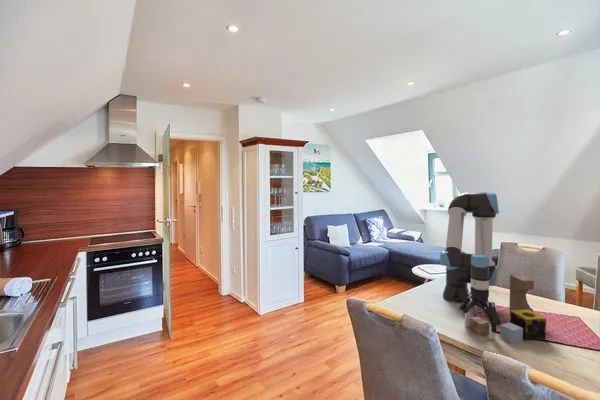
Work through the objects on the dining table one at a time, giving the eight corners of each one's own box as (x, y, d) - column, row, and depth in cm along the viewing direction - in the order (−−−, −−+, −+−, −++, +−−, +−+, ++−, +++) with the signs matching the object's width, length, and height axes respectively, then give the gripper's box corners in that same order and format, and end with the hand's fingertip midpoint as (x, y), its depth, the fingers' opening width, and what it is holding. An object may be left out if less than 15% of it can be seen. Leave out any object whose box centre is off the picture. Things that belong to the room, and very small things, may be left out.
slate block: (500, 337, 144) (500, 324, 143) (509, 335, 146) (509, 322, 145) (513, 343, 138) (513, 330, 138) (522, 341, 140) (522, 328, 140)
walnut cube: (468, 330, 150) (469, 318, 150) (478, 328, 152) (478, 316, 152) (479, 336, 145) (480, 324, 144) (489, 334, 147) (489, 321, 146)
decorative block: (533, 318, 161) (534, 280, 160) (522, 318, 161) (522, 280, 160) (519, 309, 172) (520, 274, 171) (508, 309, 172) (509, 274, 171)
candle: (508, 330, 150) (508, 310, 149) (528, 329, 151) (528, 308, 150) (525, 341, 140) (525, 319, 139) (546, 339, 141) (547, 318, 140)
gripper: (452, 280, 158) (452, 322, 159) (498, 297, 134) (497, 345, 136) (463, 279, 160) (463, 319, 161) (510, 295, 137) (510, 342, 138)
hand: (479, 331), depth 149 cm, fingers open, 13 cm apart
